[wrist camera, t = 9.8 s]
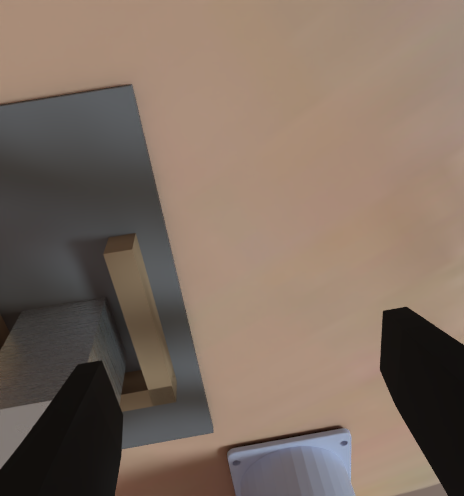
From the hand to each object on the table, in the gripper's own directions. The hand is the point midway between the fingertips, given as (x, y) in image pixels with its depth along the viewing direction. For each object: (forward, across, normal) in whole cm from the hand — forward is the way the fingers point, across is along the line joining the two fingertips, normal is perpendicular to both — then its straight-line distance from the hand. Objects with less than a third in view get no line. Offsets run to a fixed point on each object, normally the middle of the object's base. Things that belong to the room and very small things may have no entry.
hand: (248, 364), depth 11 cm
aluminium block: (+9, +8, +5) cm, 13 cm away
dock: (+9, +8, +4) cm, 13 cm away
